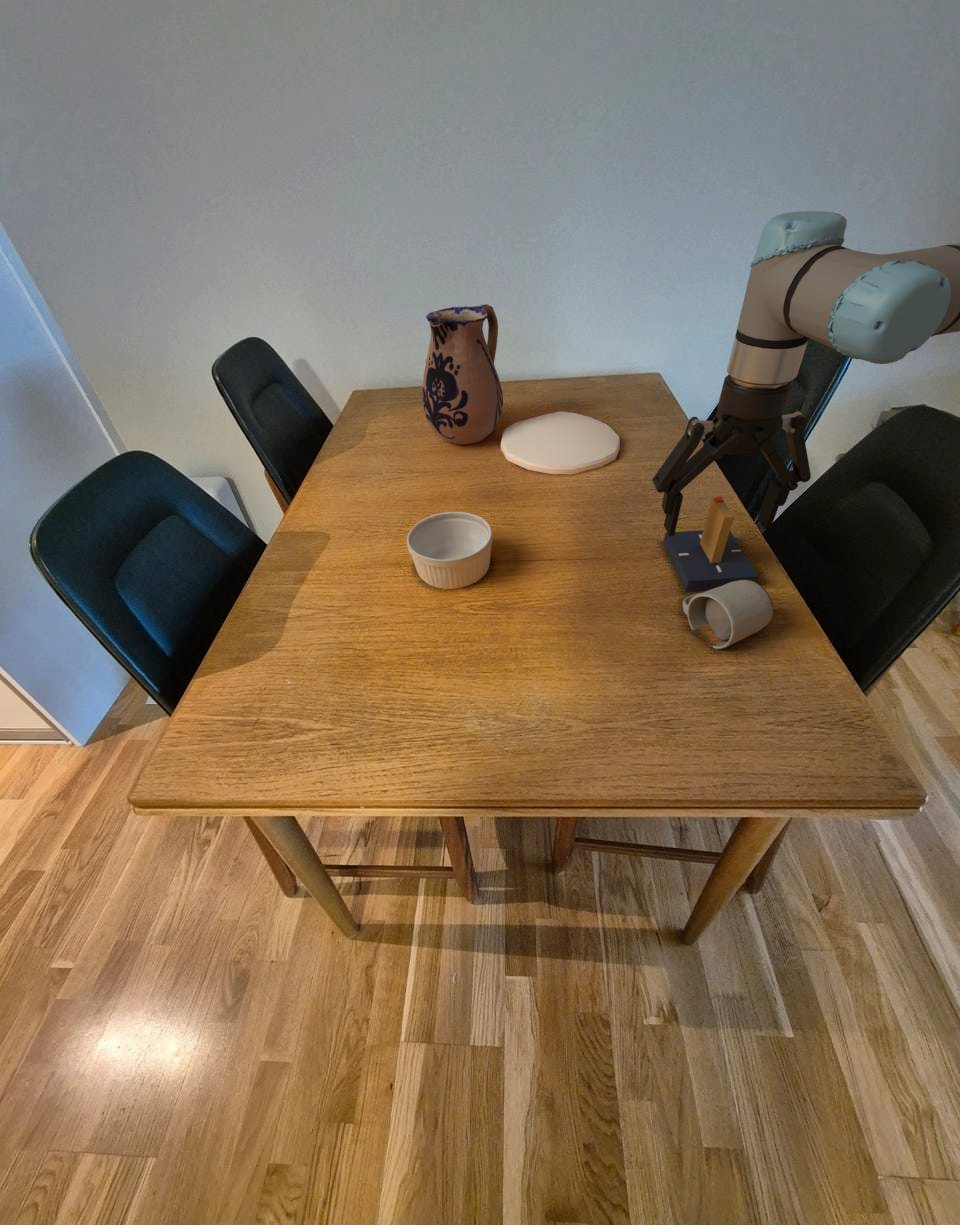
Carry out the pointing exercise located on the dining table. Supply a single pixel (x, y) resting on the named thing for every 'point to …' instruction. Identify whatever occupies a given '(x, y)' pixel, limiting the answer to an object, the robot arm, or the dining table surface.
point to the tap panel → (706, 562)
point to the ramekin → (451, 549)
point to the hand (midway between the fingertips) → (716, 527)
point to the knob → (716, 529)
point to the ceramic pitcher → (462, 374)
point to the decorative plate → (560, 443)
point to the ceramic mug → (730, 610)
